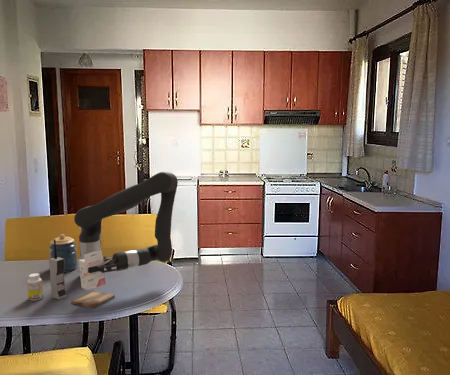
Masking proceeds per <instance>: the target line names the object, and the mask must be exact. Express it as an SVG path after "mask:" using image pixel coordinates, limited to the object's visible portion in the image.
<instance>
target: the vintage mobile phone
mask: <svg viewBox="0 0 450 375" xmlns="http://www.w3.org/2000/svg"><path fill="white" fill-rule="evenodd" d="M53 239H54V254H55V258H52V259H50V258H49V260H48V261H49V264H48V265H49V278H50V291H51V292H50V294H51V299H52V298H53V299H56V300H58V301H59V300H63V299H65V298H67V297H68V296H67V295H68V294H67V292H66V288H65V286H66V285H65V272H64V258H60V257H57V251H56V241H55V238H53Z"/></svg>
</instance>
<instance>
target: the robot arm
mask: <svg viewBox="0 0 450 375" xmlns="http://www.w3.org/2000/svg"><path fill="white" fill-rule="evenodd" d="M178 184H179V182H178V178H177V176H176V175H175V174H174V173H171V172H169V171H168V172H167V171H160V172H158V173H156V174H154V175H152V176H151V177H149V178H147V179H145V180H143V181H141V182H140V183H138V184H135V185H131V186H130V187H127V188H124V189H123V190H122V189H121V190H120V191H118V192H116V193H113V194H112V195H110V196H108V197H107V198H105V199H103V200H102V201H100V202H98V203H96V204H94V205H88V206H85V207H82V208H80V209H79V210H77V211H76V213H75V215H74V223H75V225H77V226H78V227H80V228H82V230H81V232H80V234H79V236H78V238H79V239H78V240H79V241H78V242H79V256H78V261H79V260H81V259H84V255H85V254H88V253H91V252H95V251H99V250H101V240H100V238H101V237H100V236H101V233H102V220H104V219H105V218H109V217H112V216H115V215H118V214H122V213H123V212H127V211H128V210H131V209H133V208H135V207H137V206H139V204H141V203H142V202H143V201H145V200H146V199H148V198H150V197H153V196H155V195H158V194H160V196H161V197H160V205H159V208H158V211H157V214H156V218H155V224H154V226H155V227H154V237H155V240H157V244H153V245H151V246H147V247H145V248H138V249H134V250H133V249H132V250H131V249H130V250H126V251H120V252H119V251H118V252H114V253H113V255H112V257H107V256H103V261H104V262H103V263H102V264H101V265H98V266H94V267H89V268H88V272H89V273H93V272H101V273H105V274H106V273H110V272H115V271H116V272H120V271H121V272H122V271H125V270H129V269H130V270H131V269H133V268H136V267H140V266H145V265H149V264H150V262H153V261H158V262H162V263H165V262H166V263H167V262H168V261H169V260H171V257H172V254H173V244H172V239H171V232H172V219H173V218H172V216H173V210H174V209H173V208H174V205H175V199H176V198H175V197H176V193H177V189H178ZM95 255H96V254H95ZM95 255H94V254H93V255H91V256H90V257H92V256H95ZM79 272H80V268H79Z"/></svg>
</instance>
